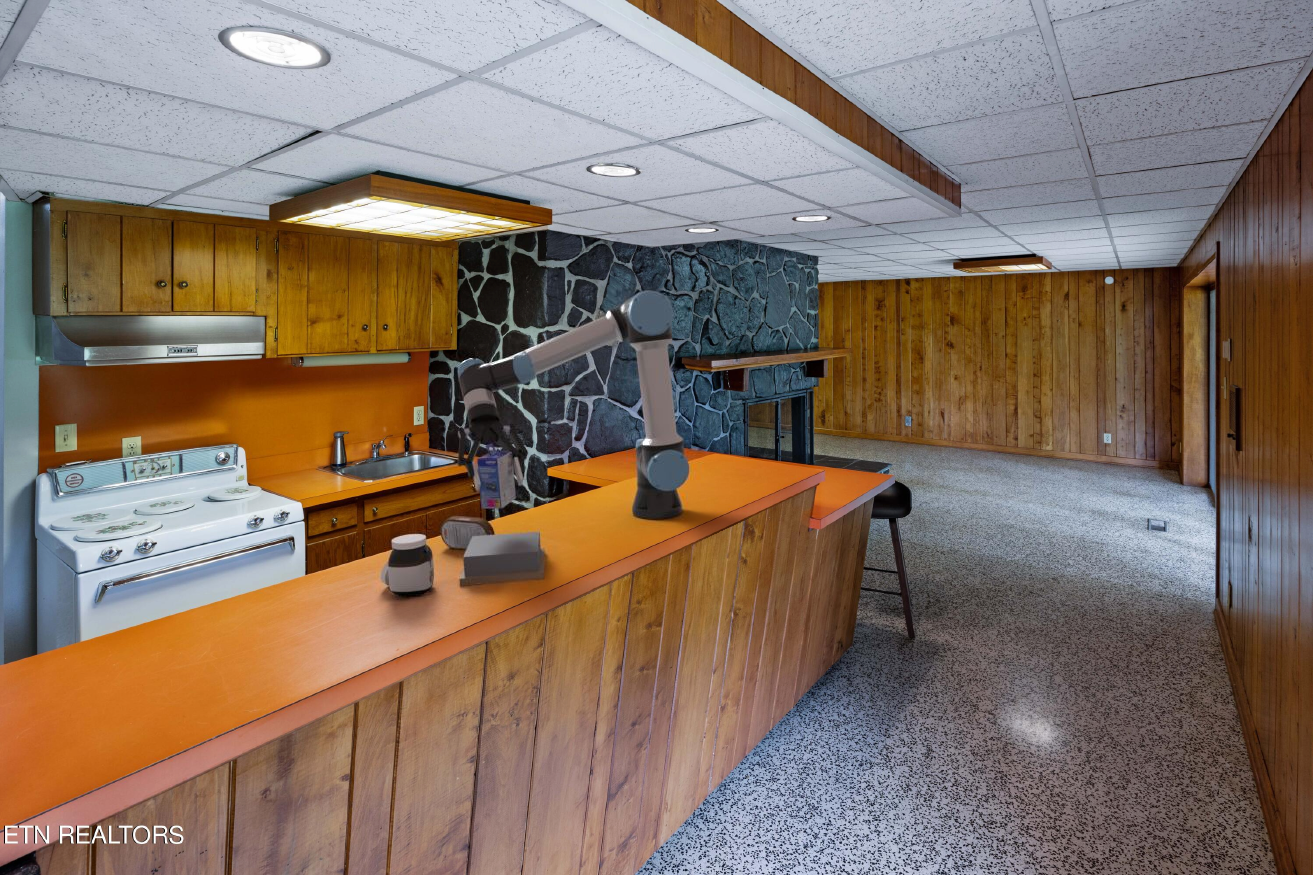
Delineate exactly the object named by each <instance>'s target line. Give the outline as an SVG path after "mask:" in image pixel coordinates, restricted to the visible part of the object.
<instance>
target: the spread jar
mask: <svg viewBox="0 0 1313 875" xmlns="http://www.w3.org/2000/svg"><path fill="white" fill-rule="evenodd" d="M391 548H392V549H391V552H390V553H389V557H388V559H387V561H386V563H385V564H384V566H383V567H382V569H381V571H380V581H381V582H382V583H383V584H384V585H386V586H387V587H389V589H390V592H391V593H392V595H394V596H396V597H400V598H406V599H407V598H417V597H420V596H422V595H426V594H428V593H429V592H430V591H431V590H432V587H433V586H434V585H433V584H434V581H435V568H434V566H435V564H434V554H433V552H432V548H431V547H430V546H429V545H428V544H427V536H426V535H425V534H420V533H413V534H412V533H411V534H410V533H409V534H404V535H400V536H397V537H394V538H392V539H391Z"/></svg>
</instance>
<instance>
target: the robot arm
mask: <svg viewBox="0 0 1313 875" xmlns="http://www.w3.org/2000/svg"><path fill="white" fill-rule="evenodd" d="M673 318H674V310H673V305H672V304H671V301H670V300H669V299H668V298H667V297H666V296H665V295H664V294H663V293H660V292H658V291H654V290H643V291H639V292H638V293H636V294H634V295H633V296H631V297H630V298H628V299H626V300H625V301H624V302H622V303H621V304H619V305H618V306H616V307H613V308H612V309H609V310H607V312H606V315H605V316H602V317H599V318H598V319H595V320H593V321H590V322H588V323H586V324H584V325H581V326H578V327H576V328H574V329H571V330H569V331H567V332H565V333H562V334H560V335H557V336H554V337H553V338H550V339H547V340H546V341H543V342H542V343H539V344H536V345H535V346H532V347H529V348H527V349H524V350H523V351H520V352H518V353H515V354H513V355H510V356H507V357H505V358H501V359H499V360H495V361H493V362H489V363H488V362H487V363H485V362H484V361H483V360H482V359H480V358H468V359H466V360H464V361H462V362H461V363H459V365H458V368H457V376H458V383H459V387H460V391H461V395H462V399H463V403H464V407H465V412H466V416H467V417H466V418H467V420H468V425H469V426H468V428H464V427H463V426H461V427H459V428H458V431H457V437H458V440H459V446H458V457H457V466H459V467H461V466H463V467H464V466H465V469H466V471H467V475H468V477H469V478H472V479H473V482H474V486H475V490H476V492H479V491H480V486H481V482H480V478H479V473H478V464H477V461H476V460H474V459H475V457H476V454H477V452H478V450H479V448H480V446H481V443H482V444H487V443H490V444H491V443H492V444H493V443H495V444H496V445H497V446H500V447H501V448H502V450H503V451H512V458H513V471H514V475H515V477H516V481H517V485H518V486H519V487H520V486H523V482H524V476H523V472H524V470H525V464H524V462H523V460H524V461H525V460H527V457H528V456H529V450H528V449H527V447H526V446H525V445H524V443H523V441H522V440H521V438H520V436H519V435H518V432H517V431H516V427H515V424H514V423H510V424H509V425H504V424H503V423H502V422H501V419H500V414H499V411H498V408H497V403H496V400H495V396H494V392H499V391H501V390H505V389H508V388H513V387H515V386H516V387H517V386H519V385H522V384H527V383H529V382H532V381H534V380H535V379H537V375H538V374H542V373H543V372H547V371H548V370H550V369H553V368H556V367H557V366H560V365H562V364H565V363H567V362H569V361H571V360H574V359H576V358H579V357H580V356H583V355H585V354H588V353H590V352H592V351H595V350H598V349H599V348H602V347H604V346H606V345H609V344H612V343H613V342H615V341H617V342H619V343H622V342H625V341H626V340H627V341H629V345H630V346H631V347H632V348H633V349H635V352H636V361H637V372H638V379H639V380H638V381H639V388H640V396H641V406H642V413H643V422H644V430H645V437H644V438H639V439H637V440H636V442H635V448H634V450H635V457H636V462H635V463H636V486H637V487H636V492H635V496H634V499H633V502H632V506H631V509H632V511H631V512H632V515H633V516H634V517H637V518H640V519H648V520H649V519H650V520H661V519H669V518H674V517H677V516H680V515H681V514H682V513H683V504H682V501H681V498H680V496H679V492H678V489H679V488H680V487H682V486H683V485H684V484H685V483H686V482H687V480H688V478H689V475H690V463H689V460H688V458H687V457H686V456H685V448H684V447H685V446H684V437H681V436H680V435H679V433H678V432H677V424H676V416H675V415H676V413H675V407H674V396H673V387H672V378H671V368H670V359H669V349H668V347H669V345H670V343H671V342H672V341H673V335H672V322H673ZM504 432H505V433H506V435H507V436H508V437H509V440H510V441H509V440H508V439H507V438H506V436H505V435H504ZM469 435H470V436H471V437H473V438H474V441H473V442H472V443H473V444H472V446H471V448H470V451H469V453H468V455H467V457H465V450H466V439H467V438H468V437H469ZM511 442H512V443H511Z"/></svg>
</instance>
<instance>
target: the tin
mask: <svg viewBox="0 0 1313 875" xmlns="http://www.w3.org/2000/svg"><path fill="white" fill-rule="evenodd" d="M439 531H440V536H441V540H442V541H443V543H444V545H446V546H447V547H448V548H450V549H452V548H453V550H460V549H463V550H462V551H466V550H467V547H468V545H469V543H470V541H471V538H472V536H484V535H496V534H495V530H494V528H493V526H492V524H491V523H490V522H489V521H488V520H486V518H485V519H484V518H482V517H475V516H473V517H472V516H465V515H464V516H463V515H461V516H460V515H452V516H450V517H449V518H447V519H446V520H444V521H443V522H442V523H441V525H440V530H439Z"/></svg>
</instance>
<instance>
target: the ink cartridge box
mask: <svg viewBox="0 0 1313 875" xmlns="http://www.w3.org/2000/svg"><path fill="white" fill-rule="evenodd" d="M485 448H486V450H487V453H486V454H484V455H482V456H480V457H478V458H477V461H476V464H477V469H478V474H479V478H480V482H481V486H480V490H479V493H480V503H481V509H490V510H491V509H493V510H494V509H497V510H498V509H499V510H500V509H503V508H505V507H506V506H507V505H508V504H510V503H511V502H513V501H514V500H515V499H516V488H515V486H516V484H515V470H514V466H513V461H514V460H513V458H512V451H505V450H497V449H496V448H495V446H494V445H493V443H491V442H490V443H488V444H486V445H485ZM490 448H492V449H490Z"/></svg>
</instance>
